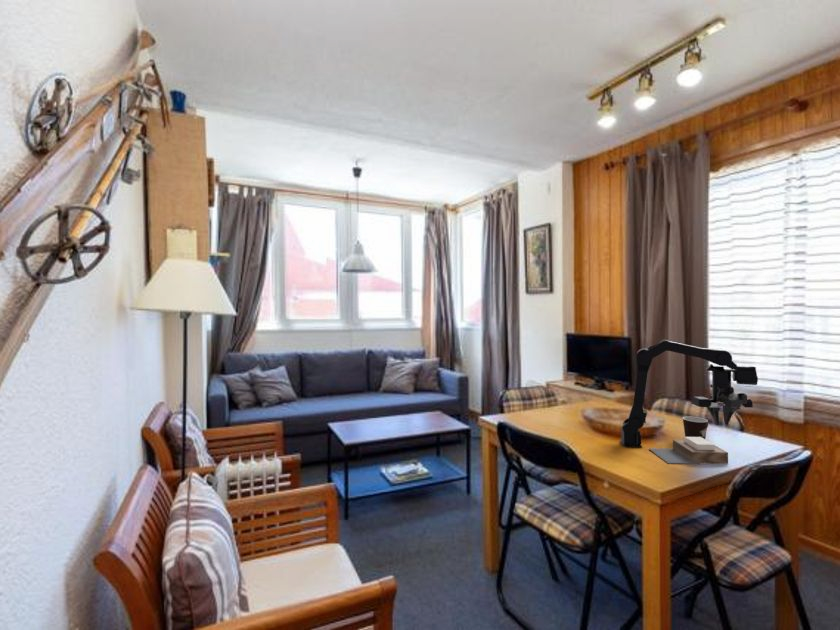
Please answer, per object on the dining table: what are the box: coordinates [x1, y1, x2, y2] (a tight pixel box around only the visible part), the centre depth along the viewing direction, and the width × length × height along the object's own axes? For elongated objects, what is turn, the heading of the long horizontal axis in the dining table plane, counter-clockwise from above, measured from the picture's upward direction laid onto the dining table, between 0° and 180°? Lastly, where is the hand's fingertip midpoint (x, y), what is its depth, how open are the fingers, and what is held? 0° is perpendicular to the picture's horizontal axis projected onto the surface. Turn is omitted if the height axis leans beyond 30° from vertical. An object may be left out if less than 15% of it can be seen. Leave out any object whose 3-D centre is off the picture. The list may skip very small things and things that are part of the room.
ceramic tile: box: [683, 436, 716, 450], centre depth 158 cm, size 6×9×2 cm, turn 175°
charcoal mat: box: [648, 448, 701, 465], centre depth 158 cm, size 11×15×1 cm
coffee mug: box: [682, 416, 709, 440], centre depth 172 cm, size 12×9×10 cm
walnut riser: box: [672, 439, 729, 465], centre depth 158 cm, size 12×14×4 cm
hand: (721, 424), depth 157 cm, fingers open, 3 cm apart
